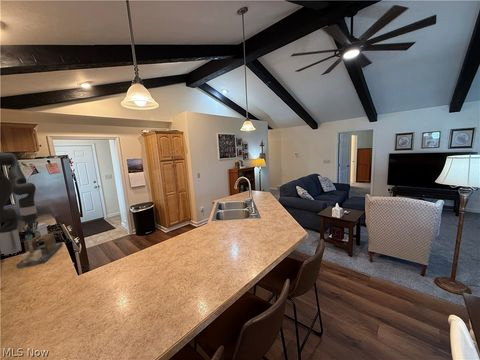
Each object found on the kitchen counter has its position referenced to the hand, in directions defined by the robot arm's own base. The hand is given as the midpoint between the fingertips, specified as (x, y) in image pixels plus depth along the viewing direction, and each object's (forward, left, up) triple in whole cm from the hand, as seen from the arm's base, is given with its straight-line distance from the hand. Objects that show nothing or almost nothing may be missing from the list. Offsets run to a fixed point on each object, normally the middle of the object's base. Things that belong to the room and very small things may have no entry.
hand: (33, 237), depth 136 cm
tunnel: (0, +7, -17) cm, 18 cm away
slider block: (0, -4, -14) cm, 14 cm away
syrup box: (-14, +41, -17) cm, 46 cm away
